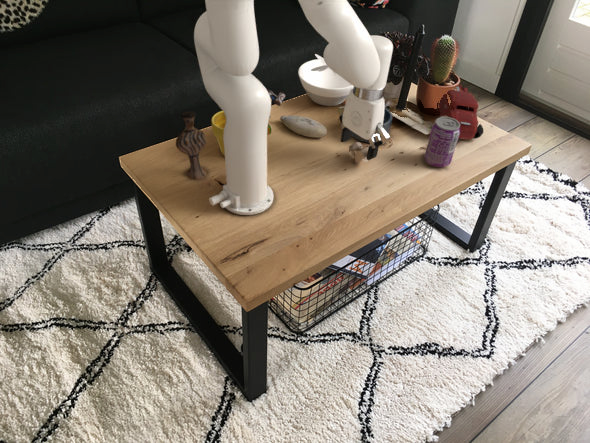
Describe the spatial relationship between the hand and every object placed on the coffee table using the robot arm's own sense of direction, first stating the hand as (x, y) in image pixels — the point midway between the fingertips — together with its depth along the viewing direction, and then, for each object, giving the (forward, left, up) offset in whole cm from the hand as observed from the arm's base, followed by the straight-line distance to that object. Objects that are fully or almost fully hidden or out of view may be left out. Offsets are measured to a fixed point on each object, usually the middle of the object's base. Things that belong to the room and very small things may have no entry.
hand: (358, 149), depth 132 cm
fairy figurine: (+14, +26, +5) cm, 30 cm away
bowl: (+17, +30, -4) cm, 34 cm away
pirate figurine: (-19, +25, +1) cm, 31 cm away
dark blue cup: (+13, +8, -4) cm, 16 cm away
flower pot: (-24, +23, -4) cm, 33 cm away
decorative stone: (-2, +20, -4) cm, 20 cm away
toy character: (+1, -1, -4) cm, 4 cm away
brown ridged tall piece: (-37, +21, -4) cm, 43 cm away
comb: (+22, +2, -2) cm, 22 cm away
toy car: (+37, -2, -4) cm, 37 cm away
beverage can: (+18, -13, -4) cm, 22 cm away
